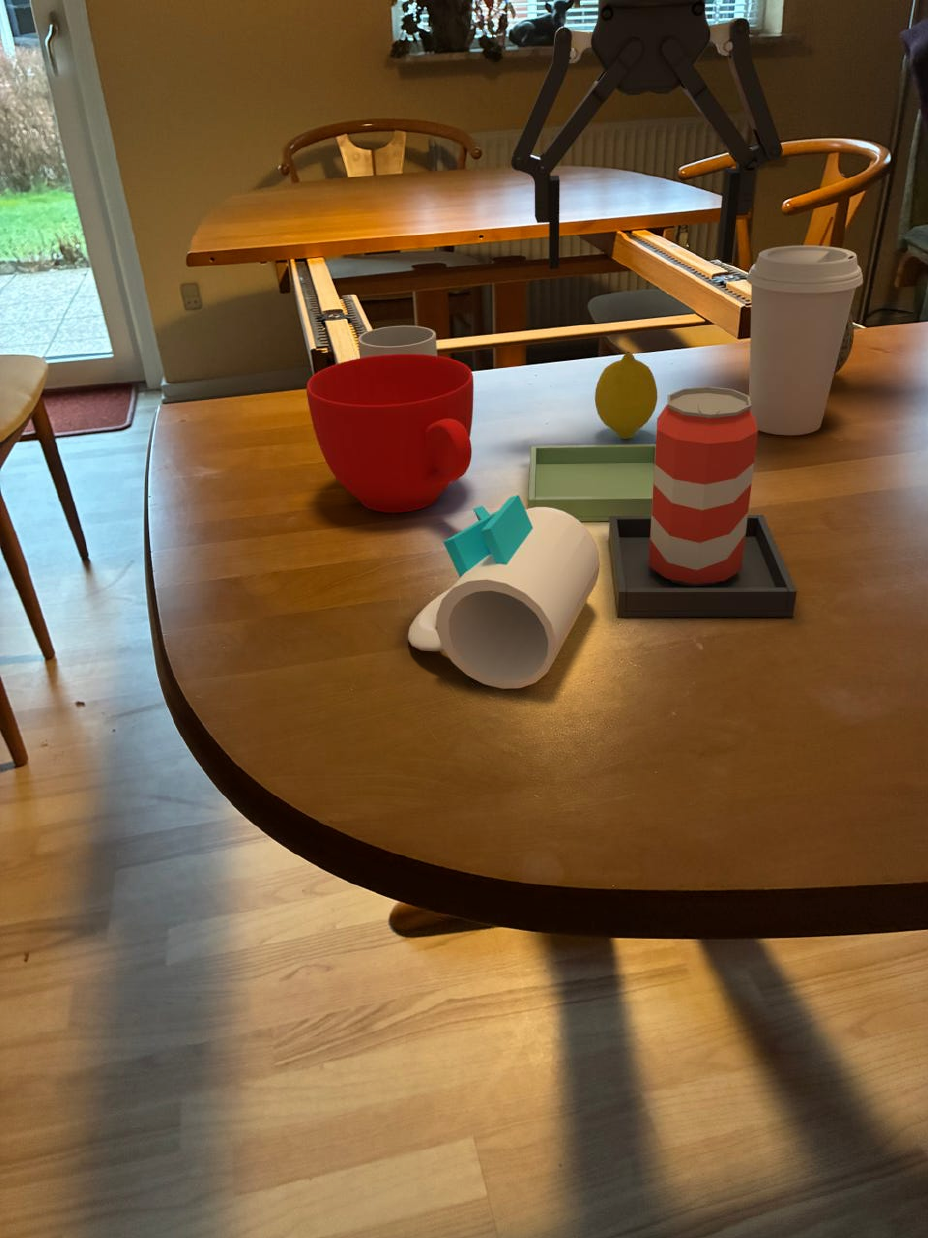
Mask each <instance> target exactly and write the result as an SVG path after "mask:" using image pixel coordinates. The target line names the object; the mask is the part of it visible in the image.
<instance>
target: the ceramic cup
mask: <svg viewBox="0 0 928 1238" xmlns="http://www.w3.org/2000/svg"><path fill="white" fill-rule="evenodd" d="M474 388H475V387H474V376H473V371H472V369H471V368H470V367H469V366H468V365H467V364H465V363H463V362H461V361H459V360H456V359H453V358H450V357H445V356H440V355H437V356H433V355H424V354H391V355H379V356H371V357H364V358H360V357H359V358H354V359H349V360H346V361H342V362H339V363H336V364H333V365H330V366H328V367H325V368H323V369H322V370H320V371H317V372H316V373H315V374H313V375H312V376H311V377H310V378H309V380H308V381H307V384H306V398H307V403H308V408H309V413H310V417H311V422H312V426H313V430H314V433H315V434H314V435H315V437H316V440H317V443H318V446H319V449H320V451H321V454H322V456H323V458H324V460H325V462H326V464H327V466H328V468H329V470H330V471H331V473H332V474H333V476H334V477H335V478H336V480H337V481H338V482H339V483H340V484H341V485H342V486H343V487H344V488H345V489H346V490H347V491H348V492H349V493H350V494H351V495H352V496H354V497H355V498H356V499H357V500H358V501H359V502H361V504H362V505H363V506H364V507H366V508H367V509H369V510H373V511H375V512H376V511H377V512H379V513H390V514H394V513H395V514H397V513H408V512H413V511H417V510H421V509H424V508H427V507H429V506H431V505H432V504H434V503H435V502H436V501H437V500H438V499H439V498H440V496H441V494H442V493H443V492H444V491H445V490H446V489H447V487H448V486H449V485H450V484H451V483H452V482H455V481H457V480H460V478H462V477H463V476H464V475H465V474H466V473H467V471H468V470H469V467H470V464H471V461H472V455H473V453H472V442H471V432H472V424H473V414H474V391H475V390H474Z"/></svg>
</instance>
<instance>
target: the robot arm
mask: <svg viewBox="0 0 928 1238" xmlns="http://www.w3.org/2000/svg"><path fill="white" fill-rule="evenodd" d="M597 2H598V3H597V20H596V22H595V26H594V28H593V30H592V31H587V30H574V29H573V30H572V29H570V28H569V27H565V26H561V27H559V28H558V29H557V30H556V31H555V33H554V38H553V39H554V40H553V47H552V48H553V49H552V59H551V64H550V66H549V69H548V71H547V73H546V76H545V77H544V80H543V83H542V84H541V86H540V90H539V92H538V94H537V96H536V99H535V101H534V103H533V106H532V108H531V111H530V112H529V115H528V118H527V120H526V122H525V124H524V127H523V129H522V132H521V134H520V136H519V139H518V141H517V143H516V146H515V148H514V150H513V153H512V155H511V159H510V163H511V167H512V169H513V170H514V171H517V172H521V173H524V174H527V175H529V176H530V177H531V178H532V180H533V183H534V218H535V220H536V223H537V224H547V223H548V265H549V266H548V267H549V270H557V269H560V197H561V196H560V193H561V192H560V187H561V186H560V184H561V183H560V181H561V180H560V175H557V174H556V175H555V174H554V175H551V174H552V172H553V171H554V170H555V169H556V167H557V166H558V164H559V163H560V162H561V160H562V159H563V158H564V156H565V155H566V154H567V152H568V151H569V149H570V148H571V147H572V146H573V145H574V143H575V142H576V140H577V139H578V138H579V136H580V135H581V134H582V132H584V130H585V129H586V127H587V126H588V125H589V123H590V122H591V121H592V119H593V118H594V116H595V115H596V114H597V113H598V111H599V110H600V108H602V106H603V105H604V104H605V102H606V101H607V100H608V99H609V98H610V96H612V95H613V93H614V91H615V90H617V91H618V92H619V93H621V94H623V95H625V96H638V95H639V96H640V95H642V94H644V93H648V92H650V93H653V94H657V95H667V94H671V93H672V92H674V91H676V90H677V89H678V88H679V87H680V88H681V89H682V91H683V92H684V94H685V95H686V96H687V97H688V98H689V100H690V102H692V104H693V105H694V107H695V108H696V109H697V111H698V112H699V114H700V115H701V117H702V118H703V119H704V121H705V122H706V124H707V125H708V127H709V128H710V129H711V131H712V132H713V133H714V135H715V137H716V138H717V139H718V140H719V142H720V143H721V145H722V146H723V147H724V149H725V150H726V152H727V153H728V155H729V156H730V157H731V159H732V160H733V162H734V163H735V167H731V168H724V170H723V171H724V173H723V180H722V181H723V184H722V194H721V203H720V215H719V227H718V236H717V237H718V238H717V248H716V258H717V259H718V261H720V263H721V264H732V263H733V257H734V256H733V255H734V246H735V236H736V235H735V234H736V227H737V226H736V225H737V216H739V217H741V216H748V215H749V213H750V211H751V209H752V200H753V192H754V182H755V174H756V171H757V170H758V168H759V167H760V166H762V165H764V164H767V163H769V162H772V161H777V160H779V159H780V158H781V157H782V155H783V152H784V149H783V146H782V143H781V142H782V141H781V140H780V137H779V134H778V131H777V128H776V125H775V122H774V120H773V117H772V116H773V115H772V113H771V110H770V108H769V105H768V101H767V99H766V96H765V93H764V91H763V88H762V85H761V82H760V78H759V76H758V73H757V70H756V67H755V63H754V61H753V59H752V55H751V53H750V52H751V43H750V42H751V26H750V22H749V20H748V19H747V18H745V17H734V18H732V19H730V21H729V22H728V21H727V22H721V23H716V24H710V25H709V23H708V20H707V15H706V3H707V0H597ZM709 43H713V44H715V46H716V49H717V52H718V54H719V55H721V56H723V57H724V56H725V57H727V62H728V66H729V69H730V72H731V75H732V78H733V80H734V83H735V86H736V89H737V91H738V94H739V97H740V100H741V103H742V106H743V109H744V112H745V114H746V118H747V120H748V123H749V125H750V129H751V131H752V133H753V137H754V140H755V142H756V145H754V146H752V147H750V146H749V144H748V143H747V141H746V140H745V139H744V137H743V135H742V134H741V133H740V131H739V130H738V128H737V127H736V125H735V124H734V123H733V121H732V119H731V118H730V117H729V116H728V114H727V112H726V111H725V110H724V109H723V107H722V105H721V104H720V103H719V101H718V100H717V98H716V97H715V95H714V94H713V92H712V91H711V89H710V88H709V86H708V85H707V83H706V82H705V80H704V79H703V77H702V76H701V75H700V73H699V71H698V70H697V68H696V67H695V65H696V64H697V62H698V60H699V59H700V58H701V56H702V54H704V52H705V50H706V49H707V47H708V46H709V45H710V44H709ZM587 49H590V50H591V52H592V54H593V55H594V57H595V59H596V60H597V62H598V64H600V66H601V68H602V69H603V71H602V72H601V73H600V74H599V76H598V77H597V78H596V79H595V81H594V82H593V84H591V85H592V86H591V87H590V88H589V89H588V91H587V93H585V95H584V97H583V98H582V100H581V101H580V102H579V103H578V105H577V106H576V107H575V109H574V110H573V112H572V113H571V114H570V115H569V117H568V118H567V120H566V121H565V122H564V123H563V125H562V126H561V128H560V129H559V131H558V132H557V133H556V135H554V137H553V139H552V140H551V141H550V142H549V144H548V145H547V146H546V148H545V149H544V151H543V152H542V153H541V155H540V156H536V155H533V154H532V153H533V151H534V148H535V146H536V144H537V142H538V140H539V138H540V135H541V133H542V130H543V128H544V125H545V123H546V121H547V119H548V117H549V114H550V112H551V109H552V108H553V105H554V103H555V100H556V98H557V96H558V95H559V91H560V90H561V87H562V84H563V83H564V80H565V78H566V75H567V72H568V68H569V66H570V64H576V63H578V62H579V61H580V60H581V56H582V54H583V52H584V51H585V50H587Z"/></svg>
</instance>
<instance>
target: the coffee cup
mask: <svg viewBox="0 0 928 1238" xmlns="http://www.w3.org/2000/svg"><path fill="white" fill-rule="evenodd" d="M863 278H864V277H863V272H862V268H861V267H860V265H858V256H857V254H856V252H854V251H852V250H850V249H845V248H843V247H842V248H841V247H835V246H829V245H827V246H826V245H811V244H809V245H806V244H805V245H803V244H802V245H785V246H777V247H770V248H767V249H765V250H762V251H760V252H759V253H758V257H757V258H756V261H755V263H754V264H753V265H751V267H750V270H749V271H748V273H747V276H746V282H747V283H748V284H749V285H750V287H751V289H750V290H751V291H750V292H751V293H750V295H751V297H750V300H751V301H750V340H749V341H750V342H749V345H750V346H749V378H748V379H749V380H748V381H749V384H748V396H750V401H751V409H750V410H751V412H752V414H753V416H754V418H755V420H756V425H757V429H758V432H759V431H760V432H762V433H766V434H771V435H777V436H803V435H808V434H811V433H814V432H816V431H818V430H819V429H820V428H821V426H822V422H823V418H824V416H825V415H824V414H825V411H826V408H827V407H826V406H827V403H828V399H829V395H830V391H831V387H832V382H833V379H834V376H835V375H834V371H835V367H836V363H837V359H838V355H839V351H840V347H841V343H842V339H843V336H844V332H845V328H846V324H847V320H848V316H849V312H850V313H851V308H852V304H853V300H854V297H855V293H856V289H857V288H858V287H861V286H862V284H863V283H864V279H863Z"/></svg>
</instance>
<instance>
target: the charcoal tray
mask: <svg viewBox="0 0 928 1238" xmlns="http://www.w3.org/2000/svg"><path fill="white" fill-rule="evenodd" d="M608 522H609V523H608V527H609V528H608V544H609V553H610V562H611V563H610V564H611V571H612V579H613V587H614V596H615V604H616V605H615V606H616V613H617V614H616V615H617V618H623V617H624V618H646V617H647V618H648V617H649V618H793V617H794V611H795V605H796V600H797V593H798V592H797V588H796V586H795V584H794V582H793V580H792V577H791V574H790V573H789V571H788V568H787V566H786V563H785V561H784V559H783V556H782V554H781V552H780V550H779V547H778V545H777V543H776V541H775V539H774V536H773V534H772V532H771V529H770V526H769V525H768V523H767V522H768V521H767V520H766V517H765V516H764V514H748V518H747V527H746V535H745V543H744V551H743V560H742V568H741V570H740V571H739V572H737V573H736V574H734V575H733V576H731V577H730V578H728V579H727V580H725V581H720V582H718V583H717V584H714V585H705V586H696V587H693V586H688V585H683V584H678V583H673V582H672V581H670V580H669V579H667V578H665V577H664V576H662V575H661V574H659V573H658V572H657V571H655V570H654V569H652V568H651V567H649V547H650V531H651V516H617V517H616V516H610V519H609V521H608Z"/></svg>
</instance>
